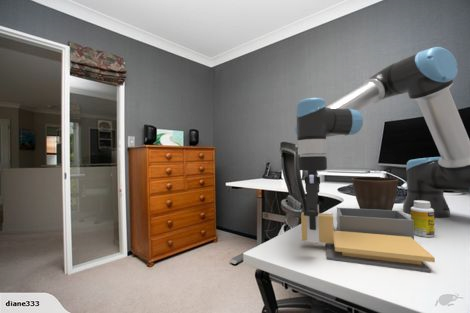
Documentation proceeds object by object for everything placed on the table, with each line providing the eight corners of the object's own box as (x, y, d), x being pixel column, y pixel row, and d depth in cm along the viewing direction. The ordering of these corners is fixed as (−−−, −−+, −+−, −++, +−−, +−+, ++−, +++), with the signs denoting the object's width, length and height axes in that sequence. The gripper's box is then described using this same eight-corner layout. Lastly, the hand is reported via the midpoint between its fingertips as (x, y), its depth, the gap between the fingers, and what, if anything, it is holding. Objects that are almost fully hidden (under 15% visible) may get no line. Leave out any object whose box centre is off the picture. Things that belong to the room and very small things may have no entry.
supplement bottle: (431, 239, 65) (430, 203, 65) (408, 234, 69) (407, 201, 70) (437, 235, 68) (436, 201, 68) (415, 230, 73) (414, 199, 73)
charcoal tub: (399, 232, 71) (398, 210, 71) (414, 246, 60) (413, 220, 60) (337, 227, 77) (336, 207, 77) (340, 239, 66) (339, 215, 66)
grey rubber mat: (406, 247, 59) (406, 245, 59) (431, 272, 46) (430, 270, 46) (325, 239, 67) (325, 237, 67) (326, 259, 54) (326, 257, 54)
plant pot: (397, 229, 74) (396, 181, 74) (348, 222, 84) (347, 179, 84) (401, 219, 85) (400, 177, 85) (358, 214, 95) (356, 176, 95)
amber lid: (411, 246, 59) (410, 214, 59) (435, 269, 47) (433, 228, 47) (303, 236, 68) (303, 208, 68) (300, 253, 56) (299, 219, 56)
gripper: (301, 156, 74) (303, 220, 74) (292, 155, 51) (295, 248, 51) (325, 155, 72) (327, 222, 71) (328, 154, 48) (330, 253, 48)
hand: (314, 233), depth 61 cm, fingers open, 13 cm apart
